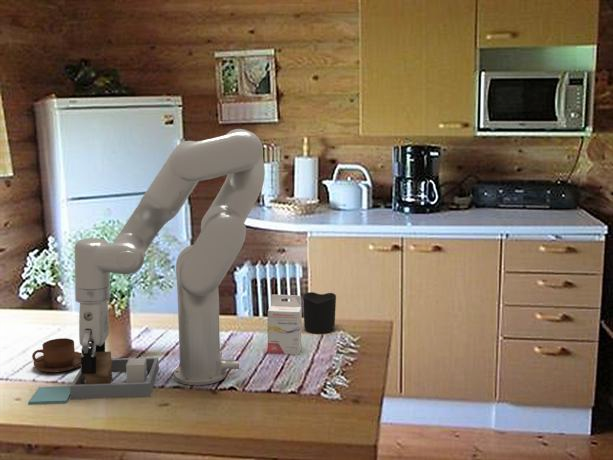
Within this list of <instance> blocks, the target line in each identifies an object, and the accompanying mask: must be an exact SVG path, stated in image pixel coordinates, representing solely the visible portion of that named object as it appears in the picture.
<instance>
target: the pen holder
mask: <svg viewBox="0 0 613 460" xmlns="http://www.w3.org/2000/svg"><path fill="white" fill-rule="evenodd" d="M302 300H303V301H302V303H303V307H302V308H303V325H304V326H303V327H304V330H305V332H308V333H312V334H318V335H321V334H329V333H331V332H333V331H334V329H335V322H336V308H337V306H336V305H337V294H335V293H333V292H327V293H322V294H321V293H317V292H311V291H310V292H305V293H304V294H303V295H302Z"/></svg>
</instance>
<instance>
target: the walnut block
mask: <svg viewBox="0 0 613 460" xmlns="http://www.w3.org/2000/svg"><path fill="white" fill-rule="evenodd" d="M95 356H96V373H95V374H85V384H110V383H112V382H113V372H112V360H111V359H112V351H105V352H95Z"/></svg>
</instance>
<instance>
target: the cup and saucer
mask: <svg viewBox="0 0 613 460" xmlns="http://www.w3.org/2000/svg"><path fill="white" fill-rule="evenodd" d="M38 353H42V355H41V356H38V357H36V355H37V354H38ZM31 358H32V360H33V367H35V368H36V369H37V370H38V371H41V372H46V373H59V372H66V371H70V370H73V369H76V368H78V367H79V366H81V352H79V351H75V341H74V340H73V339H71V338H66V337H65V338H61V337H60V338H53V339H49V340H48V341H45V342H43V343H42V349H37V350H35V351H33V353H32V355H31Z"/></svg>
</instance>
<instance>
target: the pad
mask: <svg viewBox="0 0 613 460" xmlns="http://www.w3.org/2000/svg"><path fill="white" fill-rule="evenodd" d="M70 399H71V397H70V385H63V386H62V385H59V386H58V385H55V386H38V387H37V389H36V390H35V392H34V394H33V395H32V396H31V397H30V399H29V400H28V405H52V404H53V405H54V404H55V405H56V404H67V403H68V401H69V400H70Z"/></svg>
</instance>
